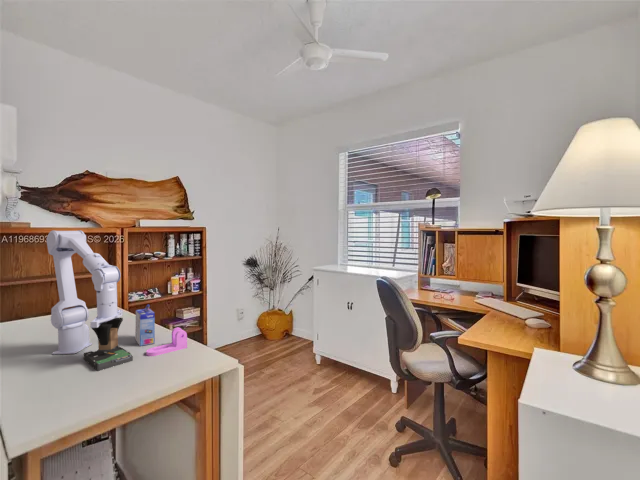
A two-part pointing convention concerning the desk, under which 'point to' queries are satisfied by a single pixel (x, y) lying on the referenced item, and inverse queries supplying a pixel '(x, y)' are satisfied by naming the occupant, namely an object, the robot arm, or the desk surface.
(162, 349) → the bracket
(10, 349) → the desk surface
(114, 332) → the walnut block
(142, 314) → the ink cartridge box
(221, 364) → the desk surface
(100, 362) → the disk drive
